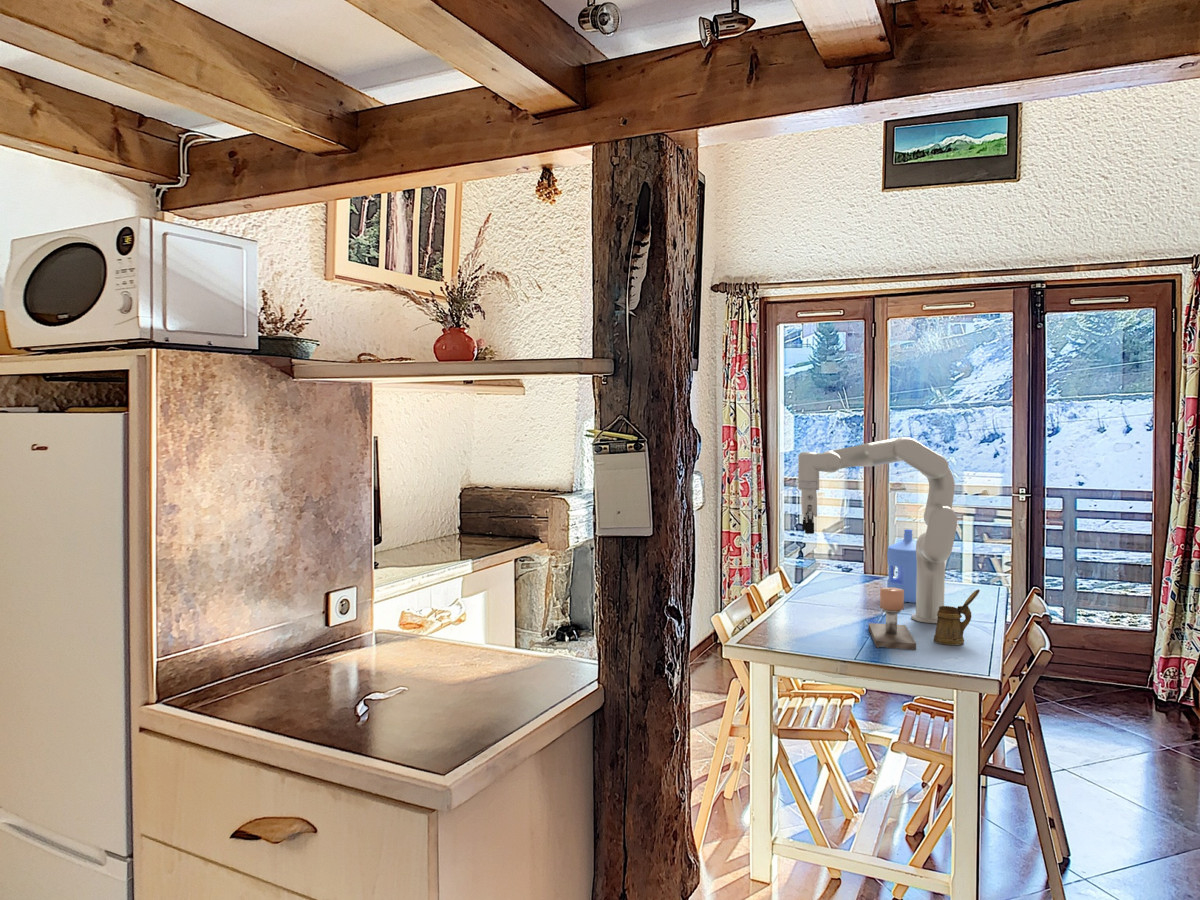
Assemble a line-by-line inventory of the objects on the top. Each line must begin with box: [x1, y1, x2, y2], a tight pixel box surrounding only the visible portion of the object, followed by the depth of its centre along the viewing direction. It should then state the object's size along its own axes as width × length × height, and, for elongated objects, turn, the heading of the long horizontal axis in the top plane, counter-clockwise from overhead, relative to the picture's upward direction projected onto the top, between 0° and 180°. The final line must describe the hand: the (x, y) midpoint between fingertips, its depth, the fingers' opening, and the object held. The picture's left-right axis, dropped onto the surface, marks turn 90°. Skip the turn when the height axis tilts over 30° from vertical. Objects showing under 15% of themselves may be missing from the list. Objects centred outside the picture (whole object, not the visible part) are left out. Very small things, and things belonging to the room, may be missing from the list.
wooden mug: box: [933, 589, 980, 646], centre depth 271 cm, size 9×14×18 cm, turn 69°
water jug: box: [886, 529, 917, 604], centre depth 337 cm, size 16×16×28 cm
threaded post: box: [882, 609, 902, 634], centre depth 276 cm, size 6×6×8 cm
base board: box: [868, 622, 917, 651], centre depth 276 cm, size 12×24×2 cm, turn 168°
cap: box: [879, 586, 905, 611], centre depth 276 cm, size 7×7×6 cm
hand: (808, 531), depth 309 cm, fingers open, 9 cm apart
